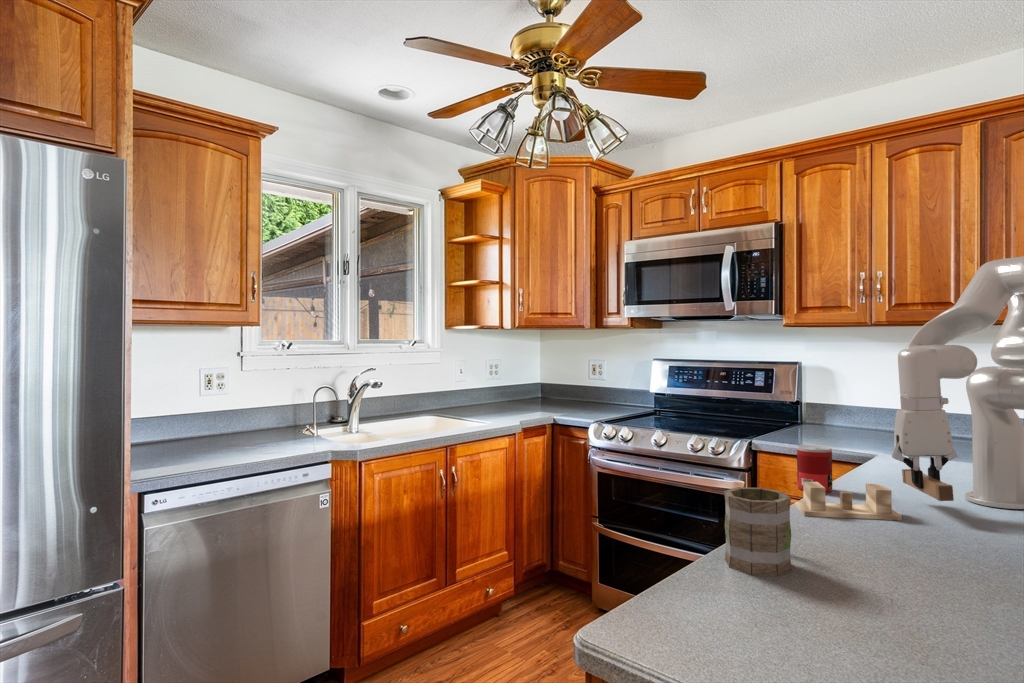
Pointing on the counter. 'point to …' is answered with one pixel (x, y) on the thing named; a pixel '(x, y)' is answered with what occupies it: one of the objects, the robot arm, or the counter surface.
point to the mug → (758, 531)
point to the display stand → (848, 503)
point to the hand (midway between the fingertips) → (926, 486)
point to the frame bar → (931, 486)
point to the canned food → (814, 466)
